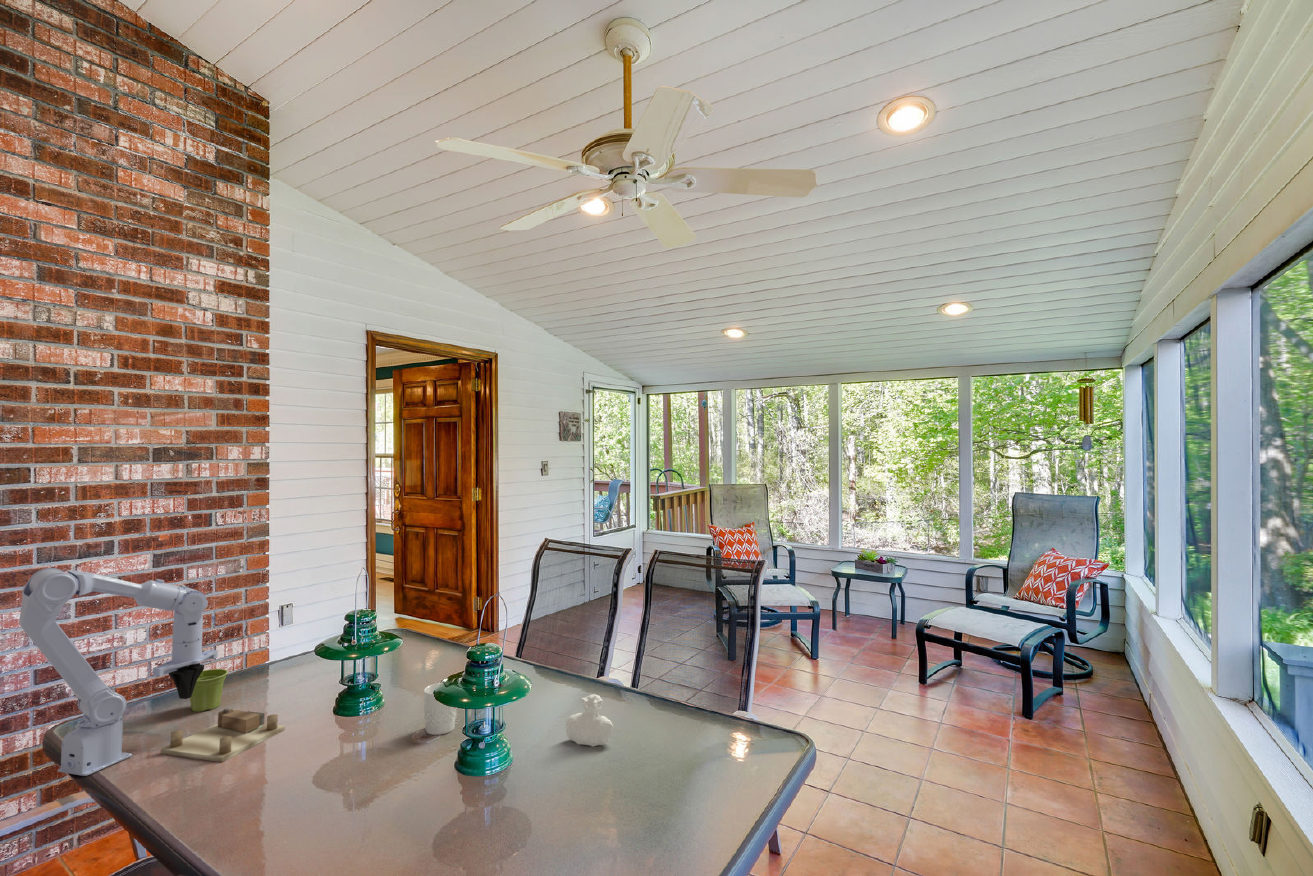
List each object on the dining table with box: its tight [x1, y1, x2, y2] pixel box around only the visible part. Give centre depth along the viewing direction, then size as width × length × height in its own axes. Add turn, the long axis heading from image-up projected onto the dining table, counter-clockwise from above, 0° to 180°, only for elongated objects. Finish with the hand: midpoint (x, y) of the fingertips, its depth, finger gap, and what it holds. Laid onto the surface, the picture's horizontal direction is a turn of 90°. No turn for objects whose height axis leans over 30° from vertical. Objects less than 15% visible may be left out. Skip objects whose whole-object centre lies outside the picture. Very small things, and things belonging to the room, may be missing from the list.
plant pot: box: [189, 668, 229, 712], centre depth 166 cm, size 9×9×9 cm
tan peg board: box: [160, 711, 286, 763], centre depth 146 cm, size 17×17×4 cm
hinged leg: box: [217, 708, 260, 733], centre depth 151 cm, size 11×4×4 cm, turn 71°
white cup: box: [423, 682, 457, 736], centre depth 154 cm, size 8×8×10 cm
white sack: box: [565, 693, 614, 748], centre depth 149 cm, size 12×8×11 cm
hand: (185, 697), depth 148 cm, fingers closed
